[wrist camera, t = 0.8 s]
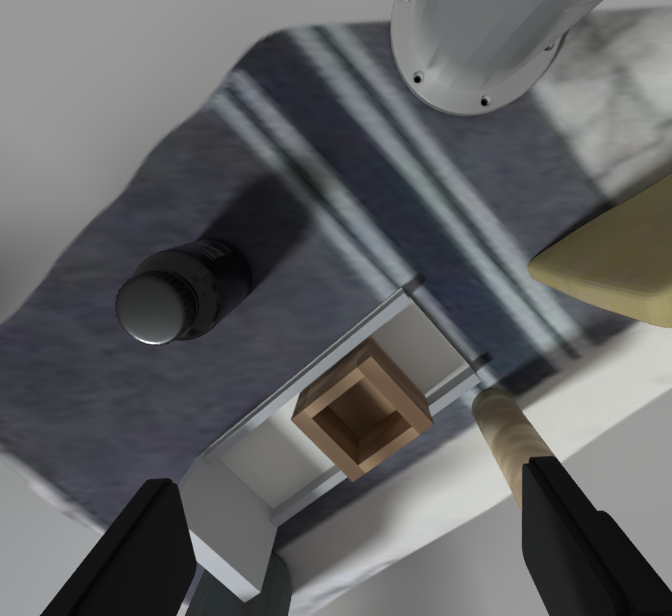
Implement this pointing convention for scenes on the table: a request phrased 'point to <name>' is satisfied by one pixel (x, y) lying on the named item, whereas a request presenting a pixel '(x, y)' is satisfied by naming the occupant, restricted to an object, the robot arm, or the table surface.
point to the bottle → (229, 610)
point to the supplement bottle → (183, 292)
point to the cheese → (619, 258)
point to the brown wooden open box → (362, 410)
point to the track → (299, 448)
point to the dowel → (508, 435)
